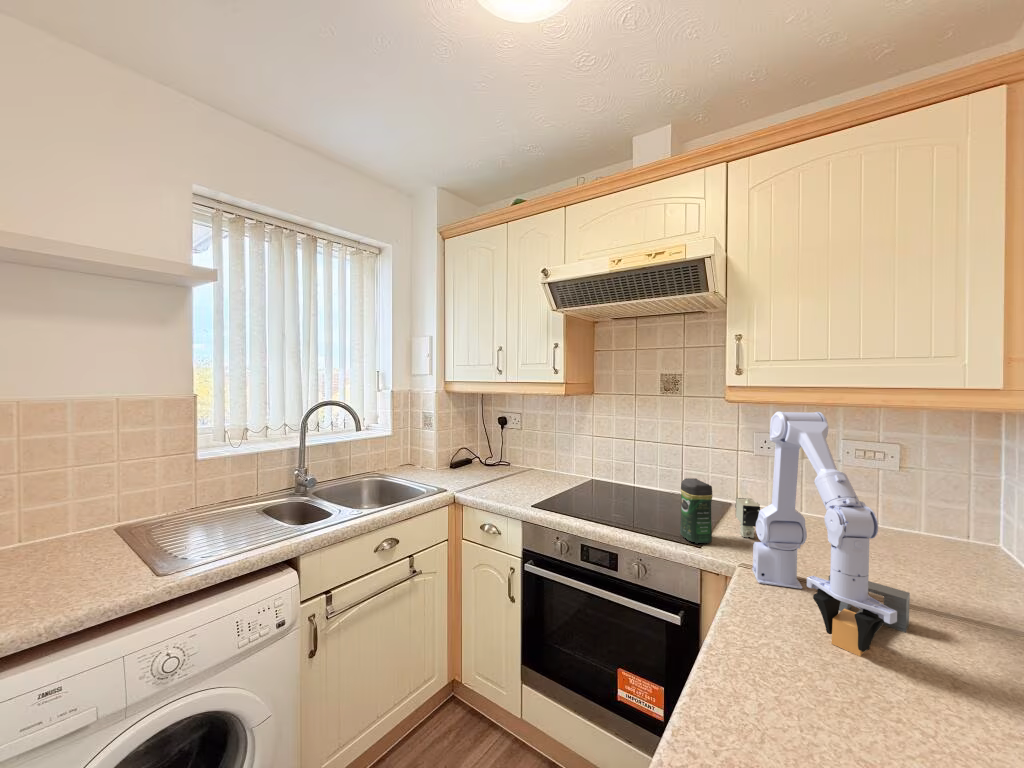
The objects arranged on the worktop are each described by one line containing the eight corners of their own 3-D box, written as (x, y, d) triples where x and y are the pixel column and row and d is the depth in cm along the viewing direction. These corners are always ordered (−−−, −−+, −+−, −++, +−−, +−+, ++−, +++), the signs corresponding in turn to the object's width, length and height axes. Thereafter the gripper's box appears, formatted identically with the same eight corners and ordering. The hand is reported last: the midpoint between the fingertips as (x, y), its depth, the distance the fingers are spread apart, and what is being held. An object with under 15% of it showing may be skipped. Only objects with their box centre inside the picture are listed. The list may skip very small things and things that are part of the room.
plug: (860, 616, 94) (861, 593, 94) (887, 627, 90) (888, 603, 90) (831, 643, 84) (832, 618, 84) (860, 656, 81) (861, 630, 81)
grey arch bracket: (832, 600, 101) (833, 570, 100) (908, 625, 91) (909, 592, 91) (827, 606, 98) (828, 576, 98) (905, 632, 88) (906, 599, 88)
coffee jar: (716, 544, 133) (717, 483, 132) (691, 545, 132) (691, 484, 131) (700, 533, 142) (700, 476, 142) (676, 533, 142) (677, 476, 141)
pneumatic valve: (744, 542, 134) (744, 503, 134) (734, 529, 146) (734, 493, 145) (764, 544, 133) (764, 504, 133) (752, 530, 144) (753, 494, 144)
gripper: (908, 583, 78) (906, 658, 78) (823, 551, 91) (821, 616, 91) (884, 590, 75) (881, 668, 75) (800, 557, 88) (798, 623, 89)
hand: (847, 640), depth 83 cm, fingers closed on plug, 5 cm apart
